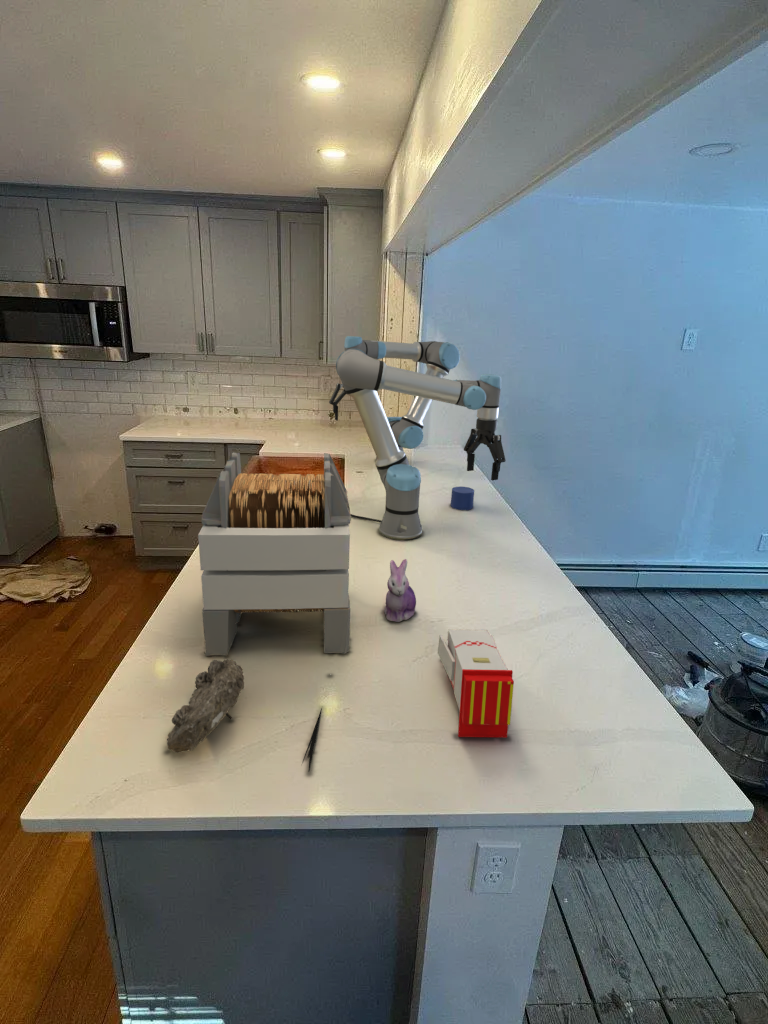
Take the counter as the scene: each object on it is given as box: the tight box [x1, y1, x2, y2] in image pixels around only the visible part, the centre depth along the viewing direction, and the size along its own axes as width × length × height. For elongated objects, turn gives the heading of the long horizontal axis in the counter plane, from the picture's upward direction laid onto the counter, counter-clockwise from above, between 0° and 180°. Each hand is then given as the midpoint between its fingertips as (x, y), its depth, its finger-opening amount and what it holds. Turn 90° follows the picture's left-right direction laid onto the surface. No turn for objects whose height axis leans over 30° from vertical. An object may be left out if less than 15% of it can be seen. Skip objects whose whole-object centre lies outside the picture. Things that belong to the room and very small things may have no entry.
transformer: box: [197, 451, 352, 657], centre depth 136 cm, size 34×33×41 cm
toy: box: [437, 628, 515, 738], centre depth 117 cm, size 12×13×30 cm
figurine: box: [384, 558, 417, 623], centre depth 145 cm, size 9×10×15 cm
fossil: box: [166, 658, 245, 754], centre depth 106 cm, size 22×10×15 cm
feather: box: [301, 673, 332, 771], centre depth 108 cm, size 2×28×2 cm
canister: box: [450, 486, 475, 511], centre depth 230 cm, size 9×9×7 cm
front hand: (481, 475), depth 212 cm, fingers open, 13 cm apart
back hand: (350, 419), depth 260 cm, fingers open, 13 cm apart
